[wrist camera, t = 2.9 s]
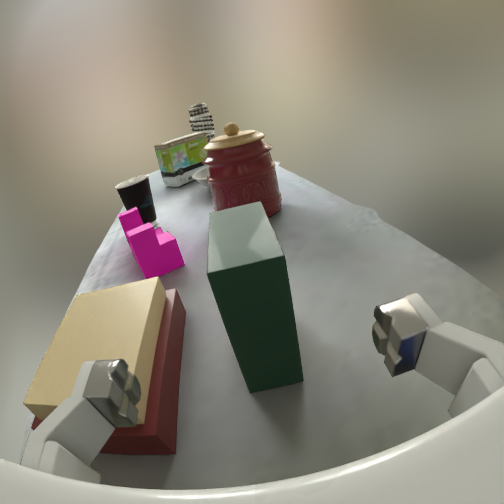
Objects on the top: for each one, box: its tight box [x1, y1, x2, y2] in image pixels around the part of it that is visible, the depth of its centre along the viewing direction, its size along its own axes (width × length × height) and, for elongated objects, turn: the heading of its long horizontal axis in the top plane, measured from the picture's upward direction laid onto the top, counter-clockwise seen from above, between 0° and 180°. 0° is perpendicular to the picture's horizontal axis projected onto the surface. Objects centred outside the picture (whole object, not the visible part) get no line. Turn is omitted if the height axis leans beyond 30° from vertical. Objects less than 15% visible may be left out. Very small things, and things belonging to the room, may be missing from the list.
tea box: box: [155, 132, 208, 187], centre depth 93 cm, size 15×10×15 cm, turn 134°
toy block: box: [118, 207, 185, 279], centre depth 47 cm, size 15×6×8 cm, turn 31°
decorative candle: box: [189, 103, 215, 143], centre depth 110 cm, size 9×9×25 cm
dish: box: [192, 167, 210, 187], centre depth 76 cm, size 18×14×5 cm
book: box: [207, 201, 304, 393], centre depth 24 cm, size 10×5×12 cm, turn 6°
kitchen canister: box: [202, 122, 282, 217], centre depth 53 cm, size 13×13×18 cm
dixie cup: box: [115, 174, 157, 226], centre depth 61 cm, size 8×8×11 cm
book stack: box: [23, 276, 186, 455], centre depth 24 cm, size 18×13×6 cm
